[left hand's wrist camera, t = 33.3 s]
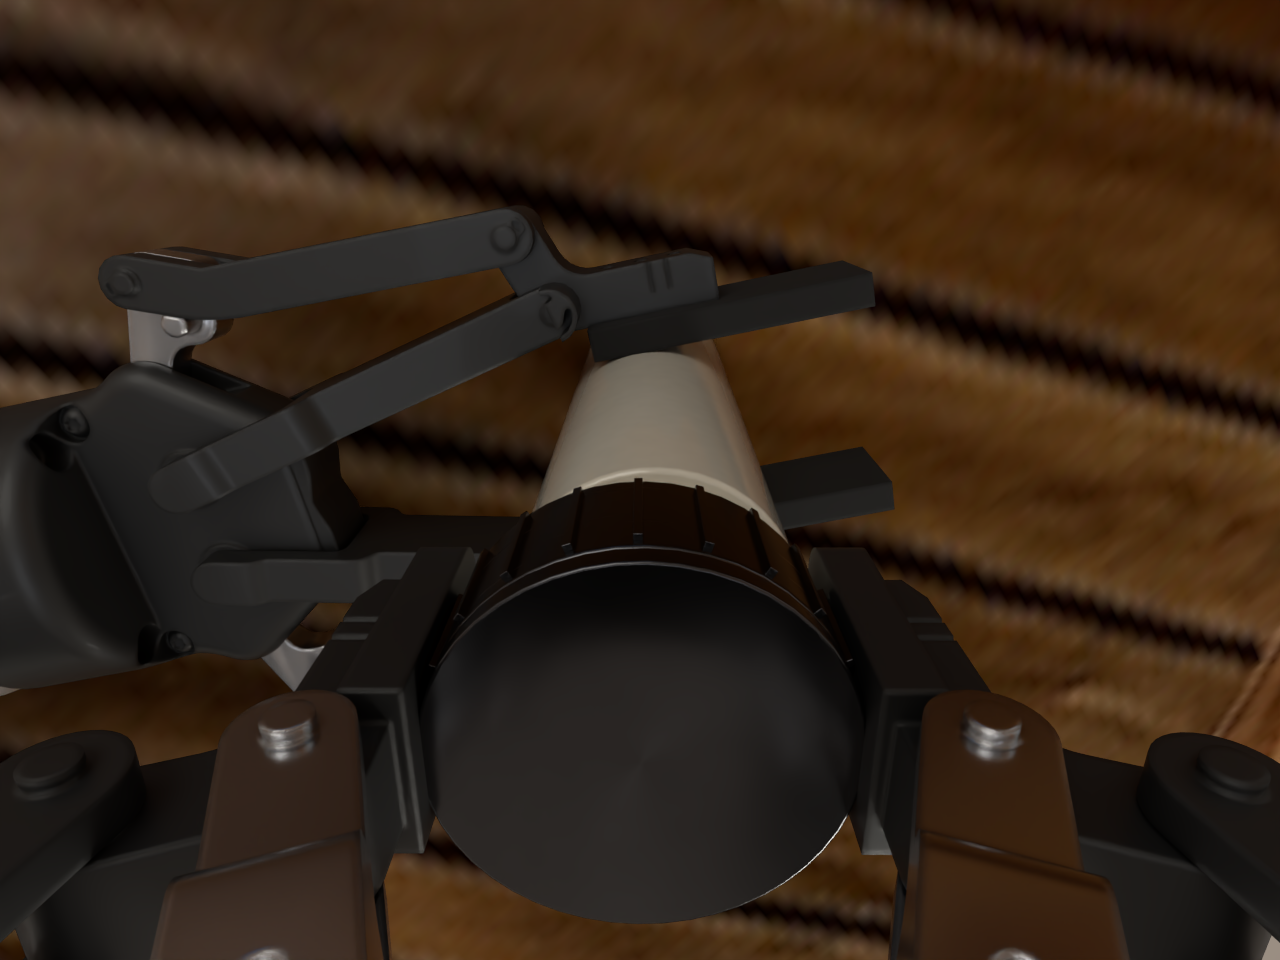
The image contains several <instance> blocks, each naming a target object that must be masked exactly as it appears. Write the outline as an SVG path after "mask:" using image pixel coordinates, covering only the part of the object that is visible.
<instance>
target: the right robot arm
mask: <svg viewBox="0 0 1280 960" xmlns="http://www.w3.org/2000/svg"><path fill="white" fill-rule="evenodd" d="M494 268H499V269H500V270H501V272H502V273H503V275H504V276H505V278H506V279H507V281H508V282H509V284H510V285H511V287H512V288H513V290H514V291H515V293H513V294H511V295H509V296H506V297H504V298H502V299H500V300H498V301H496V302H494V303H492V304H489V305H487V306H485V307H483V308H481V309H479V310H477V311H475V312H472V313H470V314H468V315H466V316H464V317H462V318H460V319H458V320H456V321H453V322H451V323H449V324H447V325H445V326H443V327H441V328H439V329H436V330H434V331H432V332H430V333H428V334H426V335H424V336H422V337H419V338H417V339H415V340H413V341H411V342H409V343H407V344H405V345H402V346H400V347H398V348H396V349H394V350H392V351H390V352H388V353H385V354H383V355H381V356H379V357H377V358H375V359H373V360H371V361H368V362H366V363H364V364H362V365H360V366H358V367H356V368H354V369H352V370H349V371H347V372H345V373H341V374H338V375H336V376H334V377H332V378H330V379H328V380H325V381H323V382H321V383H319V384H317V385H315V386H313V387H311V388H309V389H306V390H304V391H302V392H300V393H298V394H296V395H294V396H292V397H289V398H287V397H285V396H282V395H280V394H277V393H275V392H272V391H270V390H267V389H265V388H263V387H260V386H258V385H255V384H253V383H250V382H248V381H245V380H243V379H241V378H238V377H236V376H233V375H231V374H228V373H226V372H223V371H221V370H218V369H216V368H214V367H211V366H209V365H206V364H204V363H201V362H199V361H197V360H194V359H192V351H193V349H194V347H195V346H196V345H198V344H203V343H205V342H208V341H211V340H213V339H216V338H218V337H221V336H223V335H225V334H226V333H227V332H229V331H230V329H231V327H232V325H233V320H234V318H240V317H246V316H251V315H256V314H261V313H266V312H272V311H277V310H282V309H287V308H292V307H297V306H303V305H308V304H313V303H318V302H323V301H328V300H334V299H339V298H344V297H349V296H354V295H359V294H365V293H370V292H375V291H380V290H385V289H390V288H396V287H401V286H406V285H411V284H416V283H421V282H427V281H432V280H437V279H442V278H447V277H452V276H458V275H463V274H468V273H473V272H478V271H483V270H489V269H494ZM98 280H99V283H100V287H101V290H102V291H103V293H104V294H105V296H106V297H107V298H108V299H109V300H110V301H111V302H113V303H114V304H115V305H117V306H119V307H122V308H125V309H127V311H128V326H129V342H130V357H131V363H127V364H125V365H122V366H120V367H118V368H117V369H115V370H114V371H113V372H112V373H110V374H109V375H108V377H107V378H106V379H105V380H104V381H103V382H102V383H101V384H100V385H99V386H98V387H96V388H93V389H89V390H84V391H79V392H74V393H69V394H65V395H60V396H55V397H50V398H46V399H41V400H36V401H31V402H26V403H22V404H17V405H12V406H7V407H3V408H0V696H2V695H6V694H8V693H11V692H14V691H16V690H19V689H30V688H39V687H46V686H51V685H56V684H62V683H67V682H73V681H78V680H84V679H89V678H95V677H100V676H106V675H111V674H116V673H122V672H127V671H133V670H138V669H143V668H147V667H151V666H155V665H158V664H161V663H165V662H168V661H171V660H174V659H177V658H180V657H183V656H187V655H190V654H195V653H212V654H218V655H223V656H227V657H231V658H235V659H240V660H252V659H258V658H262V659H263V660H264V661H265V662H266V663H267V664H268V665H269V666H270V667H271V668H272V669H273V670H274V671H275V673H276V674H277V675H278V676H279V677H280V678H281V679H282V680H283V681H284V682H285V683H286V684H287V685H288V686H289V687H290V688H291V689H292V690H293V691H295V690H296V689H297V687H298V686H299V684H300V683H301V681H302V679H303V678H304V676H305V675H306V673H307V672H308V670H309V669H310V667H311V666H312V664H313V663H314V661H315V660H316V658H317V657H318V655H319V654H320V652H321V651H322V649H323V648H324V646H325V645H326V643H327V642H328V640H332V634H333V633H334V631H335V630H336V629H333V630H330V631H326V632H314V631H310V630H308V629H306V628H304V627H303V626H302V625H301V624H300V623H301V622H302V621H303V620H304V619H305V617H306V616H307V615H308V614H309V613H310V612H311V611H312V610H313V608H314V607H315V606H316V605H317V604H318V603H354V601H355V600H356V598H357V597H358V596H360V595H361V594H363V593H364V592H365V591H367V590H368V589H370V588H371V587H373V586H374V585H376V584H377V583H379V582H380V581H381V580H383V579H401V578H402V576H403V575H404V573H405V571H406V570H407V568H408V566H409V564H410V563H411V561H412V559H413V558H414V556H415V554H416V552H417V551H418V549H419V548H420V547H471V549H472V550H473V553H474V558H475V565H476V563H477V560H478V558H479V556H480V553H481V552H482V551H483V549H484V548H486V549H487V550H490V549H491V548H492V547H493V546H494V545H495V544H496V543H497V541H498V540H499V539H500V538H501V537H502V536H503V535H504V534H505V533H506V532H507V531H508V530H509V529H511V528H512V527H513V526H514V525H516V524H517V523H518V521H519V518H520V517H497V516H441V515H405V514H402V513H401V512H400V511H399V510H397V509H394V508H386V507H359V504H358V501H357V499H356V498H355V496H354V495H353V493H352V492H351V490H350V489H349V488H348V486H347V485H346V483H345V482H344V480H343V479H342V477H341V474H340V462H339V450H338V446H337V443H336V441H337V440H339V439H341V438H343V437H345V436H347V435H349V434H352V433H354V432H356V431H358V430H360V429H362V428H365V427H367V426H369V425H371V424H373V423H376V422H378V421H380V420H382V419H384V418H386V417H389V416H391V415H393V414H395V413H397V412H400V411H402V410H404V409H406V408H408V407H411V406H413V405H415V404H417V403H419V402H421V401H424V400H426V399H428V398H430V397H432V396H435V395H437V394H439V393H441V392H443V391H445V390H448V389H450V388H452V387H454V386H456V385H459V384H461V383H463V382H465V381H467V380H469V379H472V378H474V377H476V376H478V375H480V374H483V373H485V372H487V371H489V370H491V369H494V368H496V367H498V366H500V365H502V364H504V363H507V362H509V361H511V360H513V359H515V358H518V357H520V356H522V355H524V354H526V353H528V352H531V351H533V350H535V349H537V348H539V347H542V346H544V345H546V344H548V343H550V342H553V341H555V340H557V339H559V338H561V340H562V342H563V341H565V340H566V339H567V338H569V337H570V336H571V335H572V333H573V331H576V330H580V329H585V328H588V336H589V340H590V345H591V349H592V353H593V358H594V362H595V363H596V362H601V361H606V360H611V359H616V358H621V357H626V356H630V355H635V354H640V353H645V352H650V351H655V350H660V349H665V348H670V347H675V346H680V345H685V344H690V343H695V342H700V341H705V340H710V339H714V338H719V337H724V336H729V335H734V334H739V333H744V332H749V331H754V330H759V329H764V328H769V327H774V326H779V325H784V324H789V323H793V322H798V321H803V320H808V319H813V318H818V317H823V316H828V315H833V314H838V313H843V312H848V311H853V310H858V309H863V308H868V307H872V306H875V298H874V288H873V277H872V272H870V271H867V270H865V269H862V268H860V267H857V266H855V265H852V264H850V263H847V262H845V261H838V262H833V263H828V264H823V265H818V266H814V267H809V268H804V269H799V270H794V271H789V272H785V273H780V274H775V275H770V276H765V277H760V278H756V279H751V280H746V281H741V282H736V283H731V284H727V285H722V286H717V280H716V274H715V268H714V262H713V257H712V256H711V255H710V254H709V253H708V252H705V251H700V250H694V249H689V248H683V249H679V250H674V251H669V252H665V253H660V254H655V255H650V256H646V257H641V258H636V259H631V260H626V261H622V262H617V263H612V264H608V265H603V266H598V267H592V268H583V267H578V266H576V265H573V264H571V263H570V262H568V261H567V260H566V259H564V257H563V256H562V255H561V254H560V252H559V251H558V249H557V248H556V246H555V244H554V243H553V241H552V240H551V238H550V236H549V235H548V233H547V232H546V230H545V228H544V225H543V222H542V220H541V218H540V216H539V215H538V214H537V213H536V212H535V211H534V210H533V209H531V208H528V207H526V206H517V205H515V206H510V207H504V208H499V209H494V210H489V211H484V212H479V213H474V214H469V215H464V216H459V217H454V218H449V219H444V220H439V221H434V222H429V223H424V224H419V225H414V226H409V227H404V228H399V229H393V230H388V231H383V232H378V233H373V234H368V235H363V236H358V237H353V238H348V239H343V240H338V241H333V242H328V243H323V244H318V245H313V246H308V247H303V248H298V249H293V250H288V251H282V252H277V253H272V254H267V255H262V256H257V257H252V258H247V257H241V256H235V255H229V254H223V253H217V252H211V251H205V250H199V249H193V248H187V247H169V248H162V249H155V250H148V251H142V252H135V253H129V254H122V255H116V256H112V257H110V258H108V259H106V260H105V261H104V262H103V264H102V265H101V267H100V268H99V275H98ZM760 467H761V470H762V473H763V475H764V478H765V481H766V483H767V486H768V489H769V492H770V494H771V497H772V500H773V502H774V505H775V508H776V510H777V513H778V516H779V519H780V521H781V524H782V527H783V529H784V530H785V529H790V528H796V527H801V526H807V525H812V524H817V523H823V522H828V521H834V520H839V519H844V518H850V517H855V516H861V515H866V514H872V513H877V512H882V511H888V510H893V509H894V499H893V489H892V481H891V480H890V479H889V478H888V477H887V475H886V474H885V473H884V472H883V471H882V469H881V468H880V467H879V466H878V465H877V464H876V462H875V461H874V460H873V459H872V458H871V456H870V455H869V454H868V453H867V452H866V450H865V449H864V448H863V447H858V448H853V449H847V450H842V451H837V452H832V453H826V454H821V455H816V456H810V457H805V458H800V459H795V460H789V461H784V462H779V463H774V464H768V465H763V466H760Z"/></svg>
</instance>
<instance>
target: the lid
mask: <svg viewBox="0 0 1280 960" xmlns="http://www.w3.org/2000/svg"><path fill="white" fill-rule="evenodd" d="M854 666H856V665H855V662H854V659H853V657H852V655H851V652H850V650H849V648H848V645H847V643H846V641H845V638H844V636H843V634H842V632H841V629H840V627H839V625H838V622H837V620H836V618H835V615H834V613H833V611H832V608H831V606H830V604H829V601H828V599H827V597H826V595H825V592H824V590H823V589H819V590H817V589H816V587H815V585H814V582H813V580H812V577H811V575H810V573H809V570H808V568H807V565H806V563H805V561H804V558H803V556H802V553H801V551H800V549H799V547H798V546H797V545H796V544H794V545H792V546H790V545H789V544H788V543H787V542H786V541H785V539H784V538H783V537H782V536H781V535H780V534H778V533H777V532H776V531H775V530H774V529H773V528H772V527H770V526H769V525H768V524H767V523H766V522H765V521H763V520H762V519H760V516H759V513H758V511H757V510H755V509H753V508H751V509H750V510H749V511H748V510H747V509H745V508H743V507H741V506H739V505H737V504H735V503H733V502H731V501H729V500H727V499H725V498H723V497H721V496H718V495H715V494H712V493H709V492H706V491H704V487H703V486H699V485H696V486H695V488H692V487H687V486H682V485H677V484H672V483H661V482H648V481H643V478H634V482H619V483H613V484H607V485H601V486H595V487H591V488H588V489H584V490H583V489H582V487H581V486H580V487H577V488H574V489H573V493H571V494H568V495H566V496H564V497H561V498H559V499H557V500H554V501H552V502H550V503H548V504H546V505H544V506H542V507H541V508H539V509H537V510H536V511H534V512H532V513H531V514H529V513H528V512H527V511H525V512H524V513H523V514H521V515H520V518H519V521H518V523H517V524H516V525H514V526H513V527H512V528H511V529H509V530H508V531H507V532H506V533H505V534H504V535H503V536H502V537H501V538H500V539H499V540H498V541H497V543H496V544H495V545H494V546H493V547H492V548H491V549H490V550H487V549H486V548H484V549H483V551H482V552H481V553H480V556H479V558H478V560H477V563H476V565H475V568H474V570H473V572H472V575H471V577H470V580H469V582H468V584H467V587H466V589H465V591H464V594H463V595H462V594H458V597H457V599H456V601H455V604H454V606H453V608H452V611H451V613H450V615H449V618H448V620H447V622H446V625H445V627H444V629H443V631H442V634H441V636H440V638H439V641H438V643H437V645H436V648H435V650H434V652H433V655H432V657H431V659H430V662H429V664H428V667H427V672H429V673H432V675H431V677H430V680H429V682H428V684H427V687H426V691H425V694H424V697H423V700H422V703H421V706H420V711H419V726H420V735H421V743H422V751H423V759H424V767H425V775H426V783H427V791H428V797H429V803H430V805H431V807H432V809H433V811H434V813H435V815H436V816H437V818H438V820H439V822H440V824H441V825H442V827H443V828H444V830H445V831H446V832H447V834H448V835H449V836H450V838H451V839H452V841H453V842H454V843H455V845H456V846H457V847H458V848H459V849H460V850H461V851H462V852H463V853H464V854H465V855H466V856H467V857H468V858H469V859H470V860H471V861H472V862H473V863H474V864H475V865H477V866H478V867H479V868H480V869H481V870H483V871H484V872H485V873H486V874H488V875H489V876H490V877H491V878H493V879H494V880H496V881H497V882H499V883H501V884H502V885H504V886H505V887H507V888H508V889H510V890H512V891H513V892H515V893H517V894H519V895H521V896H523V897H525V898H527V899H529V900H531V901H533V902H536V903H538V904H541V905H544V906H546V907H549V908H552V909H554V910H557V911H560V912H564V913H567V914H571V915H575V916H579V917H583V918H588V919H594V920H600V921H606V922H615V923H630V924H652V923H669V922H677V921H685V920H692V919H696V918H700V917H705V916H709V915H714V914H717V913H720V912H723V911H726V910H729V909H732V908H735V907H738V906H741V905H743V904H746V903H748V902H750V901H752V900H754V899H757V898H759V897H761V896H763V895H765V894H767V893H769V892H770V891H772V890H774V889H775V888H777V887H779V886H780V885H782V884H784V883H786V882H787V881H788V880H790V879H791V878H792V877H794V876H795V875H796V874H798V873H799V872H800V871H802V870H803V869H804V868H806V867H807V866H808V865H809V864H810V863H811V862H812V861H813V860H814V859H815V858H816V857H817V856H818V855H819V854H820V853H821V852H822V851H823V850H824V849H825V848H826V847H827V845H828V844H829V843H830V842H831V840H832V839H833V838H834V837H835V835H836V834H837V833H838V832H839V830H840V828H841V827H842V825H843V823H844V822H845V820H846V818H847V816H848V815H849V813H850V811H851V809H852V807H853V804H854V802H855V800H856V797H857V791H858V784H859V776H860V769H861V761H862V753H863V745H864V737H865V727H866V716H865V713H864V709H863V705H862V701H861V697H860V693H859V691H858V688H857V686H856V683H855V681H854V678H853V676H852V674H851V671H850V669H849V668H851V667H854Z"/></svg>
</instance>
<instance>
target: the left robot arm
mask: <svg viewBox="0 0 1280 960" xmlns="http://www.w3.org/2000/svg"><path fill="white" fill-rule="evenodd" d="M474 568H475V558H474V553H473V550H472V549H471V547H420V548H419V549H418V551H417V552H416V554H415V556H414V558H413V559H412V561H411V563H410V564H409V566H408V568H407V570H406V571H405V573H404V575H403V576H402V578H401V579H383V580H381V581H380V582H379V583H377V584H376V585H374V586H373V587H371V588H370V589H368V590H367V591H365V592H364V593H363V594H361V595H360V596H358V597H357V598H356V600H355V601H354V603H353V604H352V606H351V607H350V609H349V610H348V612H347V613H346V615H345V616H344V618H343V622H340V624H339V625H338V627H337V628H336V630H335V631H334V633H333V634H332V640H328V642H327V643H326V645H325V646H324V648H323V649H322V651H321V652H320V654H319V655H318V657H317V658H316V660H315V661H314V663H313V664H312V666H311V667H310V669H309V670H308V672H307V673H306V675H305V676H304V678H303V679H302V681H301V683H300V684H299V686H298V687H297V689H296V690H295V691H294V692H289V693H285V694H281V695H278V696H275V697H272V698H269V699H267V700H265V701H263V702H260V703H258V704H256V705H254V706H253V707H251V708H249V709H248V710H246V711H245V712H243V713H242V714H240V715H239V716H238V717H237V718H236V719H234V720H233V721H232V722H231V723H230V724H229V726H228V727H227V728H226V729H225V731H224V732H223V734H222V736H221V738H220V741H219V744H218V749H216V750H212V751H208V752H204V753H200V754H196V755H191V756H186V757H181V758H177V759H172V760H167V761H162V762H158V763H153V764H148V765H143V766H140V765H139V761H138V758H137V754H136V751H135V748H134V745H133V743H132V741H131V740H130V739H129V738H128V737H126V736H124V735H122V734H121V733H117V732H113V731H106V730H89V731H81V732H75V733H70V734H65V735H62V736H58V737H55V738H51V739H49V740H46V741H43V742H41V743H38V744H35V745H33V746H31V747H29V748H27V749H24V750H22V751H21V752H19V753H17V754H15V755H13V756H11V757H10V758H8V759H6V760H5V761H3V762H2V763H0V942H1V941H2V940H4V939H5V938H6V937H7V936H8V935H9V934H10V933H11V932H12V931H13V930H14V929H15V930H16V932H17V935H18V937H19V940H20V942H21V945H22V947H23V950H24V952H25V955H26V957H25V958H24V959H23V960H392V954H391V942H390V931H389V920H388V908H387V898H386V891H385V885H384V879H385V876H386V873H387V871H388V868H389V865H390V862H391V860H392V857H393V854H394V853H424V850H425V847H426V844H427V841H428V837H429V834H430V831H431V828H432V825H433V822H434V819H435V813H434V811H433V809H432V807H431V805H430V803H429V797H428V791H427V783H426V775H425V767H424V759H423V751H422V743H421V735H420V726H419V711H420V706H421V703H422V700H423V697H424V694H425V691H426V687H427V684H428V682H429V680H430V677H431V675H432V673H429V672H427V667H428V664H429V662H430V659H431V657H432V655H433V652H434V650H435V648H436V645H437V643H438V641H439V638H440V636H441V634H442V631H443V629H444V627H445V625H446V622H447V620H448V618H449V615H450V613H451V611H452V608H453V606H454V604H455V601H456V599H457V597H458V594H462V595H463V594H464V591H465V589H466V587H467V584H468V582H469V580H470V577H471V575H472V572H473V570H474ZM808 570H809V573H810V575H811V577H812V580H813V582H814V585H815V587H816V589H817V590H819V589H823V590H824V592H825V595H826V597H827V599H828V601H829V604H830V606H831V608H832V611H833V613H834V615H835V618H836V620H837V622H838V625H839V627H840V629H841V632H842V634H843V636H844V638H845V641H846V643H847V645H848V648H849V650H850V652H851V655H852V657H853V659H854V662H855V665H856V666H854V667H851V668H849V669H850V671H851V674H852V676H853V678H854V681H855V683H856V686H857V688H858V691H859V693H860V697H861V701H862V705H863V709H864V713H865V716H866V727H865V737H864V745H863V753H862V761H861V769H860V776H859V784H858V791H857V797H856V800H855V802H854V804H853V807H852V809H851V811H850V813H849V816H850V819H851V822H852V825H853V829H854V832H855V835H856V838H857V841H858V844H859V847H860V850H861V853H862V855H892V856H893V859H894V861H895V864H896V867H897V870H898V872H897V879H896V885H895V891H894V898H893V908H892V920H891V931H890V943H889V954H888V960H1262V957H1263V955H1264V952H1265V950H1266V948H1267V945H1268V943H1269V940H1270V938H1271V935H1272V936H1273V937H1274V938H1275V939H1276V940H1278V941H1279V942H1280V764H1279V763H1278V762H1276V761H1275V760H1273V759H1271V758H1270V757H1268V756H1266V755H1264V754H1262V753H1260V752H1258V751H1256V750H1254V749H1251V748H1249V747H1247V746H1244V745H1242V744H1239V743H1236V742H1234V741H1231V740H1227V739H1224V738H1220V737H1216V736H1211V735H1207V734H1200V733H1185V732H1180V733H1171V734H1167V735H1164V736H1161V737H1159V738H1157V739H1156V740H1155V741H1154V742H1153V743H1152V744H1151V745H1150V748H1149V750H1148V753H1147V757H1146V760H1145V764H1144V767H1141V766H1136V765H1132V764H1127V763H1122V762H1117V761H1113V760H1108V759H1103V758H1098V757H1094V756H1089V755H1085V754H1081V753H1077V752H1073V751H1070V750H1067V749H1064V748H1062V744H1061V741H1060V738H1059V736H1058V734H1057V732H1056V731H1055V729H1054V728H1053V727H1052V726H1051V724H1050V723H1049V722H1048V721H1047V720H1046V719H1044V718H1043V717H1042V716H1041V715H1040V714H1038V713H1037V712H1035V711H1034V710H1033V709H1031V708H1029V707H1027V706H1026V705H1024V704H1022V703H1020V702H1017V701H1015V700H1013V699H1011V698H1008V697H1005V696H1002V695H999V694H995V693H991V691H990V690H989V688H988V687H987V685H986V684H985V682H984V681H983V679H982V678H981V677H980V675H979V674H978V672H977V671H976V669H975V668H974V666H973V665H972V663H971V662H970V660H969V659H968V657H967V656H966V654H965V653H964V651H963V650H962V648H961V647H960V645H959V644H958V642H957V641H954V640H953V635H952V633H951V632H950V630H949V629H948V628H947V626H946V625H945V623H942V619H941V617H940V616H939V614H938V613H937V611H936V610H935V608H934V607H933V605H932V604H931V602H930V601H929V599H928V598H927V597H925V596H924V595H923V594H921V593H920V592H918V591H917V590H915V589H914V588H912V587H911V586H909V585H908V584H906V583H905V582H903V581H902V580H884V579H883V577H882V576H881V574H880V572H879V571H878V569H877V567H876V566H875V564H874V562H873V561H872V559H871V557H870V556H869V554H868V552H867V551H866V549H864V548H813V549H812V551H811V554H810V559H809V567H808Z"/></svg>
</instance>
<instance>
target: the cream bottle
mask: <svg viewBox="0 0 1280 960" xmlns="http://www.w3.org/2000/svg"><path fill="white" fill-rule="evenodd" d="M634 478H643V481H648V482H661V483H672V484H677V485H682V486H687V487H692V488H695V486H696V485H699V486H703V487H704V491H706V492H709V493H712V494H715V495H718V496H721V497H723V498H725V499H727V500H729V501H731V502H733V503H735V504H737V505H739V506H741V507H743V508H745V509H747V510H748V511H749V510H750V509H751V508H753V509H755V510H757V511H758V513H759V516H760V519H762V520H763V521H765V522H766V523H767V524H768V525H769V526H770V527H772V528H773V529H774V530H775V531H776V532H777V533H778V534H780V535H781V536H782V537H783V538H784V539H785V541H786V542H787V543H788V540H787V537H786V535H785V532H784V529H783V527H782V524H781V521H780V519H779V516H778V513H777V510H776V508H775V505H774V502H773V500H772V497H771V494H770V492H769V489H768V486H767V483H766V481H765V478H764V475H763V473H762V470H761V467H760V465H759V462H758V459H757V456H756V454H755V451H754V448H753V446H752V443H751V440H750V438H749V435H748V432H747V429H746V427H745V424H744V421H743V419H742V416H741V413H740V411H739V408H738V405H737V402H736V400H735V397H734V394H733V392H732V389H731V386H730V384H729V381H728V378H727V375H726V373H725V370H724V367H723V365H722V362H721V359H720V357H719V354H718V351H717V348H716V346H715V344H714V341H713V339H710V340H705V341H700V342H695V343H690V344H685V345H680V346H675V347H670V348H665V349H660V350H655V351H650V352H645V353H640V354H635V355H630V356H626V357H621V358H616V359H611V360H606V361H601V362H596V363H595V362H594V358H593V353H592V349H591V347H590V350H589V353H588V356H587V359H586V361H585V364H584V367H583V370H582V373H581V376H580V378H579V381H578V384H577V387H576V390H575V393H574V395H573V398H572V401H571V404H570V407H569V410H568V412H567V415H566V418H565V421H564V424H563V427H562V429H561V432H560V435H559V438H558V441H557V443H556V446H555V449H554V452H553V455H552V458H551V460H550V463H549V466H548V469H547V472H546V475H545V477H544V480H543V483H542V486H541V489H540V492H539V494H538V497H537V500H536V503H535V506H534V509H533V511H532V512H534V511H536V510H537V509H539V508H541V507H542V506H544V505H546V504H548V503H550V502H552V501H554V500H557V499H559V498H561V497H564V496H566V495H568V494H571V493H573V489H574V488H577V487H580V486H581V487H582V489H583V490H584V489H588V488H591V487H595V486H601V485H607V484H613V483H619V482H634ZM788 544H789V543H788Z"/></svg>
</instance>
